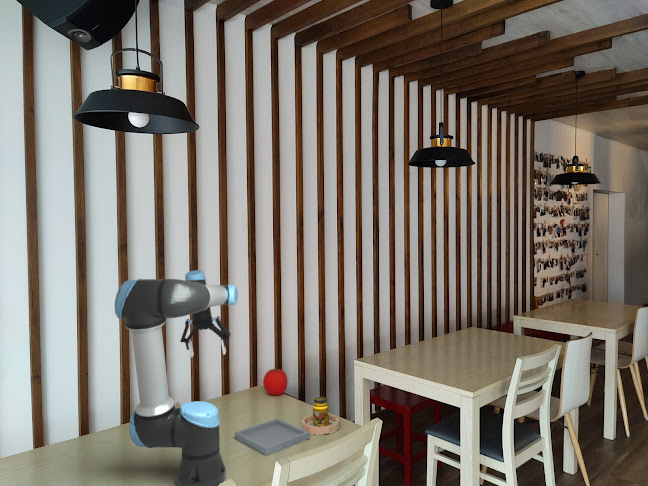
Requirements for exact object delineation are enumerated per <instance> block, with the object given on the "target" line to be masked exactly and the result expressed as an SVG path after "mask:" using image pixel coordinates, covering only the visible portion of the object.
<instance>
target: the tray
mask: <svg viewBox="0 0 648 486" xmlns="http://www.w3.org/2000/svg"><path fill="white" fill-rule="evenodd" d="M309 438H310V434H309V432H307V431H305V430H303V429H302V428H300V427H298V426H295V425H294V424H291V423H288V422H286V421H284V420H281V419H279V418H274V419H271V420H268V421H265V422H263V423H262V422H261V423H259V424H256V425H253V426H250V427H247V428H245V429H241V430H238V431H235V432H234V439H235V440H236V441H238V442H239V443H240V444H243V445H245V446H247V448H248V447H249V448H250V449H252V450H254V451H256V452H257V451H258V452H257V453H259V452H260V453H259V454H261V455H263V456H265V457H267V455H268V456H271V455H273V454H275V453H278V452H280V451H282V449H283V450H285V449H287V447H288V448H290V446H291V447H293V446H295V444H296V445H297V443H298V444H300V443H299V442H301V443H303V442H305V441H304V440H306V441H308V440H307V439H309ZM309 440H310V439H309ZM302 441H303V442H302ZM292 445H293V446H292ZM284 448H285V449H284Z"/></svg>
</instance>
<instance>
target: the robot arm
mask: <svg viewBox="0 0 648 486" xmlns="http://www.w3.org/2000/svg"><path fill="white" fill-rule="evenodd" d="M184 276H185V277H184V278H185V279H179V278H161V279H159V278H157V279H155V278H153V279H152V278H151V279H149V278H148V279H146V278H145V279H141V278H138V279H128V280H125V281H124V282H122V284H121V285H120V286H119V288H118V290H117V292H116V295H115V299H114V313H115V316H116V317H117V318H118V319H119V320H124V325H125V328H126V329H127V330H129V331H130V332H131V337H132V338H131V339H132V346H133V348H132V349H133V355H134V363H135V372H136V374H135V375H136V379H137V380H136V382H137V390H138V391H137V392H138V400H139V402H138V404H137V405H136V406H135V409H134V411H133V412H132V414H131V416H130V417H129V418H130V419H129V423H130V424H129V426H128V431H129V436H130V439H131V441H132V443H133V444H134V445H135V446H137V447H138V448H146V449H154V448H180V450H181V458H180V462H179V466H178V469H177V473H176V478H175V481H176V486H217V485H218V484H220V483H221V482H222V483H224V481H225V480H226V478H227V472H226V471H227V470H226V465H225V463H224V460H223V458H222V454H221V451H220V450H221V449H220V445H221V444H220V422H221V421H220V415H219V413H220V412H219V409H218V407H217V406H215V405H214V404H213V403H210V402H207V401H200V400H199V401H197V400H196V401H195V400H194V401H188V402H184V403H183V404H181V408H175V407H176V404H175V400H174V399H173V398H172V397H170V395H169V387H168V386H169V385H168V377H167V369H166V368H167V367H166V355H165V349H164V348H165V347H164V340H163V339H164V338H163V337H164V336H163V326H164V325H165V324H166V322H167V319H176V318H182V317H185V316H191V317H192V319H190V318H187V319H186V320H185V322H184V324H185V325H184V326H185V327H184V330H183V333H182V334H181V339H180V343H184V344H185V347H186V350H187V351H189V357H190V359H191V358H194V355H195V353H194V348H193V347H194V346H193V343H192V340H191V339H192V338H193V336H194V335H195V333H196V332H197V331H198V330H199V331H202V330H210V331H212V332H213V333H215V334H216V336H217V337H219V338H220V339H221V340H220V342H221V348H222V354H223V356H224V355H226V353H227V348H226V347H228V339H230V337H231V333H230V331H229V329H228V328H227V327H226V326H225V324H224V323H223V322H222V321H221V317H220V316H219V315H217V316H215V317H213V316H212V311H211V310H212V309H211V308H212V307H218V306H231V305H233V306H234V305H236V304H237V303H238V298H239V291H238V287H237V285H235V284H209V285H208V284H207V281H206V280H207V279H206V275H205V272H204V271H203V270H200V269H196V270H190V271H188V272H186V273H185V275H184ZM214 323H215V324H216V325H217V326H218V327H217V326H216V325H215V324H214ZM191 325H193V326H194V327H193V329H192V330H191V332H190V333H189V334H188V336H187V333H188V330H189V328H190V326H191ZM222 483H221V484H222ZM221 484H220V485H221ZM218 486H219V485H218Z"/></svg>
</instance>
